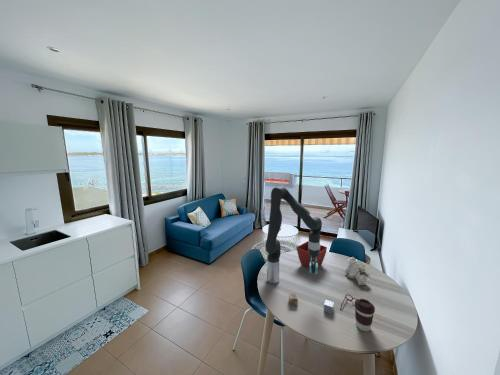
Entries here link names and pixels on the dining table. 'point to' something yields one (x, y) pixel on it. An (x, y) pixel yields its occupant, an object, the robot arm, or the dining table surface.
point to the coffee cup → (364, 314)
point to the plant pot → (306, 258)
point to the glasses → (347, 299)
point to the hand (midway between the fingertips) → (313, 270)
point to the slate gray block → (328, 306)
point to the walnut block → (293, 299)
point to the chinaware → (356, 271)
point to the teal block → (315, 268)
